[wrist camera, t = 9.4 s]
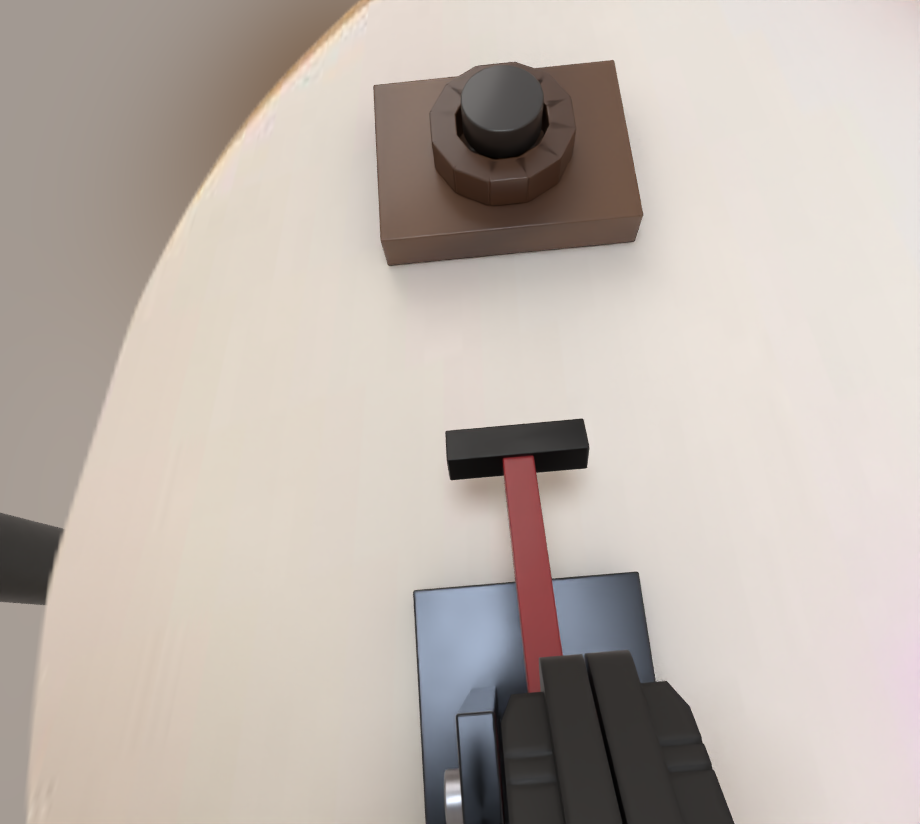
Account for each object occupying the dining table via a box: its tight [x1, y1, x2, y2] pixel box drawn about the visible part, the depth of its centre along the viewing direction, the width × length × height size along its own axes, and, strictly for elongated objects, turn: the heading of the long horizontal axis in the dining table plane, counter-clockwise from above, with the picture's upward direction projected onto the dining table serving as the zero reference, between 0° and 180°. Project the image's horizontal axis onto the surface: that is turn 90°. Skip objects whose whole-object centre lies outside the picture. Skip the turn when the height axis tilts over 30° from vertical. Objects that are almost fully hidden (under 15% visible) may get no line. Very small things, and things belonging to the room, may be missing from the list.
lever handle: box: [445, 419, 589, 693], centre depth 21 cm, size 13×5×2 cm, turn 5°
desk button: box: [461, 65, 544, 158], centre depth 31 cm, size 4×4×2 cm
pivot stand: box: [413, 572, 656, 824], centre depth 22 cm, size 12×9×11 cm
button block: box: [373, 60, 643, 265], centre depth 33 cm, size 12×9×4 cm
